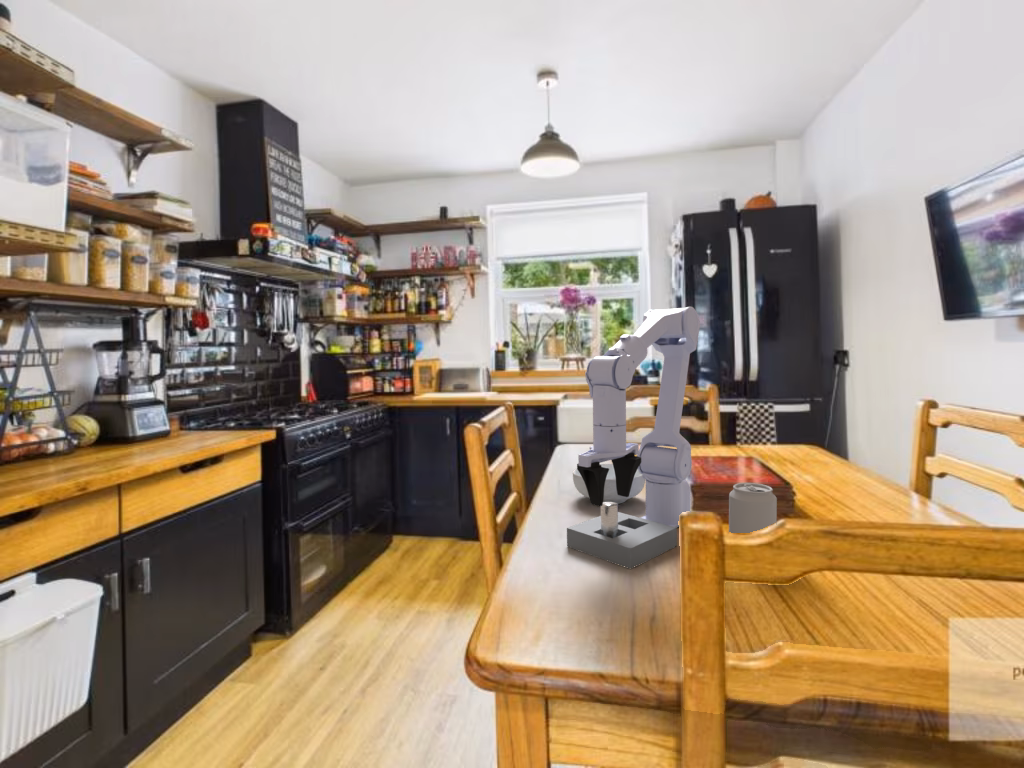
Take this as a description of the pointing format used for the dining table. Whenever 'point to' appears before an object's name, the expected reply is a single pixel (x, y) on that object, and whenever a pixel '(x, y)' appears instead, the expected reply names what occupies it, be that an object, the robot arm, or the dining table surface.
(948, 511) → the dining table surface
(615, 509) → the pin
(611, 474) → the cereal bowl
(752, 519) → the can
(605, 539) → the hole block
